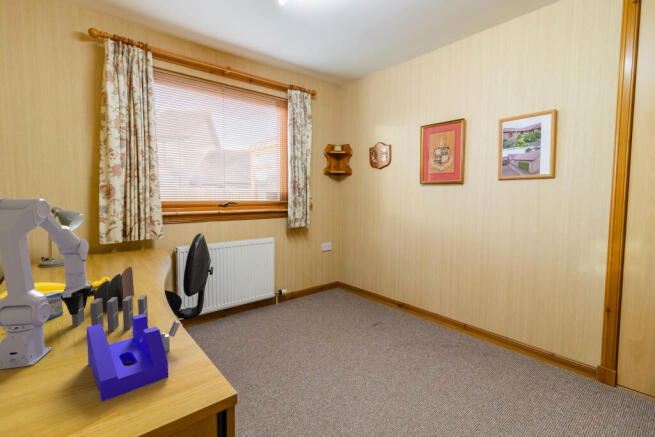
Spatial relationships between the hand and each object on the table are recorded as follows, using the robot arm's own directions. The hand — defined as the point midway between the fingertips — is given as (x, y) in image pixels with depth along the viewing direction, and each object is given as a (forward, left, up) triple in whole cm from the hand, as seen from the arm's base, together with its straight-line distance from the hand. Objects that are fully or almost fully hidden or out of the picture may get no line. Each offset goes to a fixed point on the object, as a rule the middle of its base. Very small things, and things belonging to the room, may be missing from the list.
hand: (77, 311), depth 109 cm
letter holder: (+20, -5, -5) cm, 21 cm away
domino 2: (-8, -8, -4) cm, 12 cm away
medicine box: (+9, +13, -5) cm, 16 cm away
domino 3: (-8, -13, -4) cm, 16 cm away
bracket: (-38, -25, -5) cm, 46 cm away
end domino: (-8, -22, -4) cm, 24 cm away
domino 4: (-8, -17, -4) cm, 20 cm away
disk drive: (+39, +15, -5) cm, 42 cm away
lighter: (-29, -33, -5) cm, 44 cm away
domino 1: (0, 0, -4) cm, 4 cm away
